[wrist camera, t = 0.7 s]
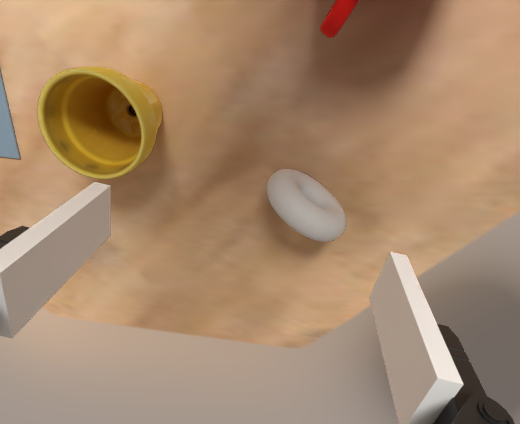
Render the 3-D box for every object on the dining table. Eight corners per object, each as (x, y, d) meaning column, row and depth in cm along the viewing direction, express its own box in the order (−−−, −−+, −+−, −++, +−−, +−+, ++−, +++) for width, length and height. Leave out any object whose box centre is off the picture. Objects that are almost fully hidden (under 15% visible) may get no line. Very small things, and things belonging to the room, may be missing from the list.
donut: (264, 174, 43) (254, 210, 34) (281, 151, 42) (274, 183, 33) (329, 218, 45) (335, 264, 36) (348, 198, 43) (358, 240, 34)
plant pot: (141, 41, 38) (92, 43, 29) (196, 126, 41) (166, 150, 33) (74, 91, 41) (13, 106, 33) (130, 166, 45) (88, 197, 36)
